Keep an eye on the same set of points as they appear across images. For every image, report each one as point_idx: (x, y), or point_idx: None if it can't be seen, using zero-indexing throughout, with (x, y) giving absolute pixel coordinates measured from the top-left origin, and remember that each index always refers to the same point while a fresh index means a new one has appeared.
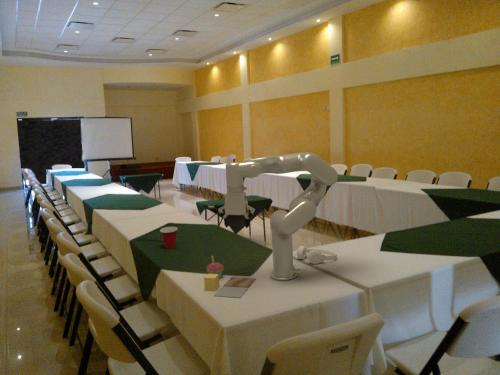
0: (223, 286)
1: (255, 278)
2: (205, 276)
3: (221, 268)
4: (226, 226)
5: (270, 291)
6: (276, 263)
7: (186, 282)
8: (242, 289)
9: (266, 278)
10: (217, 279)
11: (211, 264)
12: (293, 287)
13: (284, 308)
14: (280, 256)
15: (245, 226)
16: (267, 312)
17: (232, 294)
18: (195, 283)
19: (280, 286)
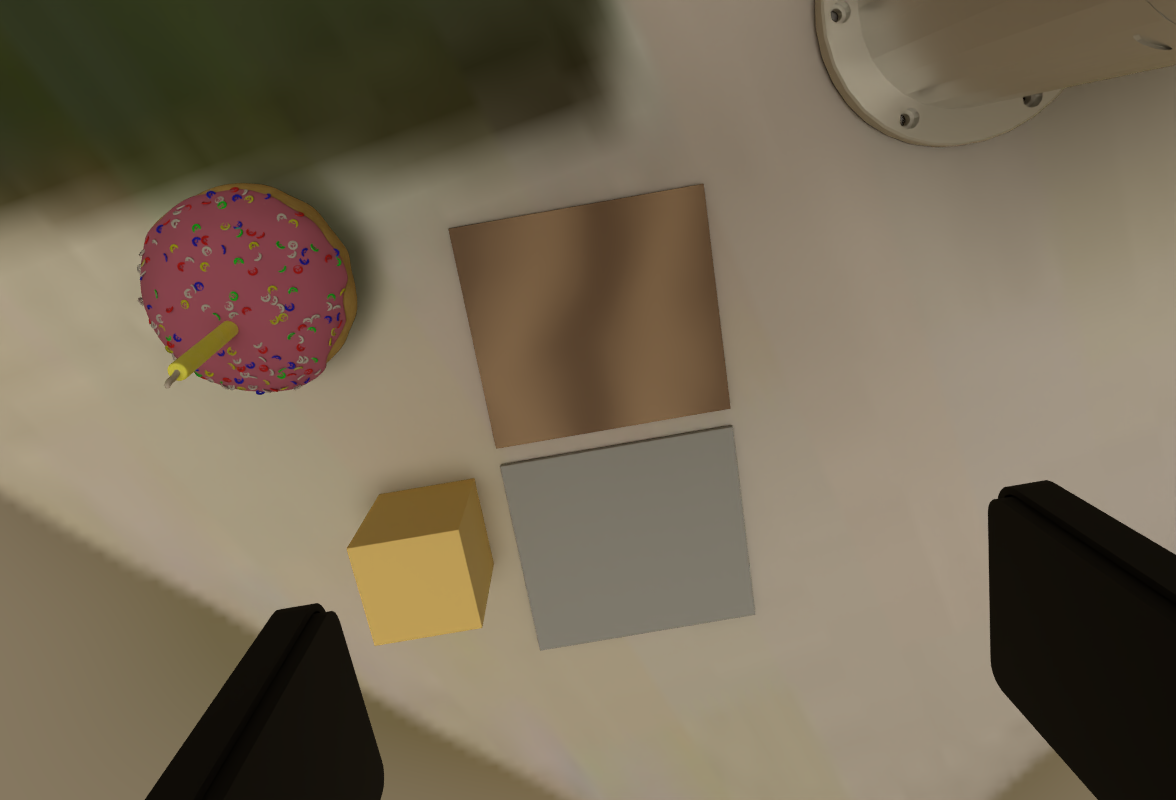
0: (509, 472)
1: (701, 187)
2: (367, 618)
3: (342, 304)
4: (369, 795)
5: (936, 417)
6: (1006, 82)
7: (122, 488)
8: (700, 475)
9: (799, 127)
10: (471, 548)
11: (204, 334)
12: (1111, 266)
13: None
14: (1143, 70)
15: (1013, 700)
16: (1016, 732)
17: (669, 588)
18: (217, 480)
19: (991, 283)
